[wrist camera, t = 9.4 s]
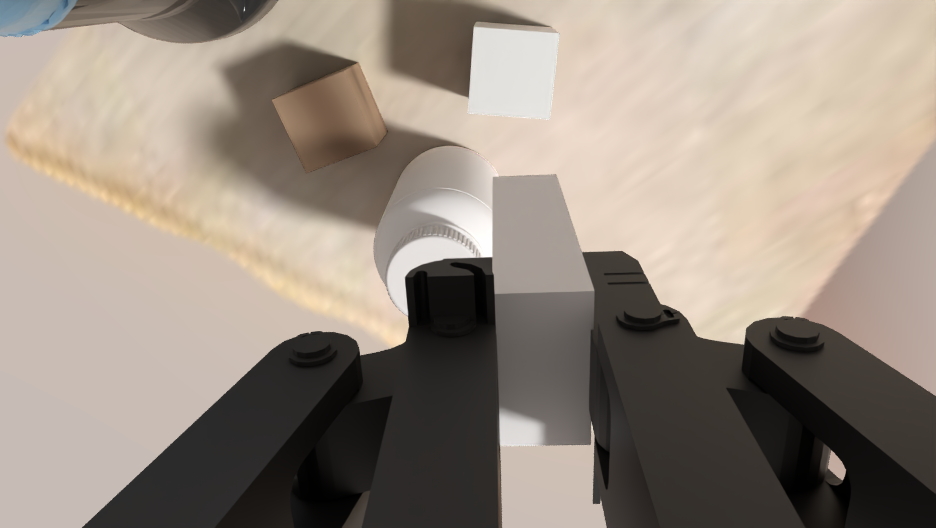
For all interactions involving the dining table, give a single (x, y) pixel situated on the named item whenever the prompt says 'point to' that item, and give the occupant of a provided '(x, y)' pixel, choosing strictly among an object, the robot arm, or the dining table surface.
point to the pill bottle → (435, 215)
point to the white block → (512, 70)
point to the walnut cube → (331, 118)
